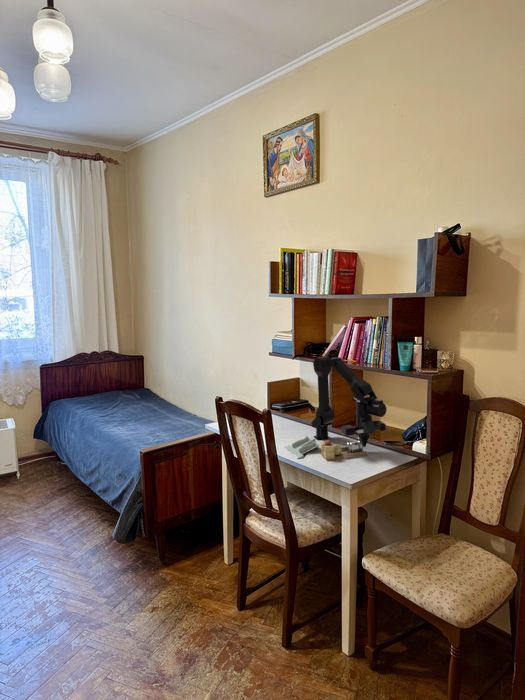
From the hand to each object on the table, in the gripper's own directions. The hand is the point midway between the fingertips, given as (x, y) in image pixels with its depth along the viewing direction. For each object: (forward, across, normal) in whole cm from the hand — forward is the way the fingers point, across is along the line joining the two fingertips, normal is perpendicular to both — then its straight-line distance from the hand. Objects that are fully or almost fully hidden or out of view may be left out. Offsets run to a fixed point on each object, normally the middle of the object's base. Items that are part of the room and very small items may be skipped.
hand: (364, 446), depth 206 cm
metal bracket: (+3, -24, +12) cm, 27 cm away
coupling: (+2, -5, 0) cm, 5 cm away
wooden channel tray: (+2, -10, 0) cm, 10 cm away
